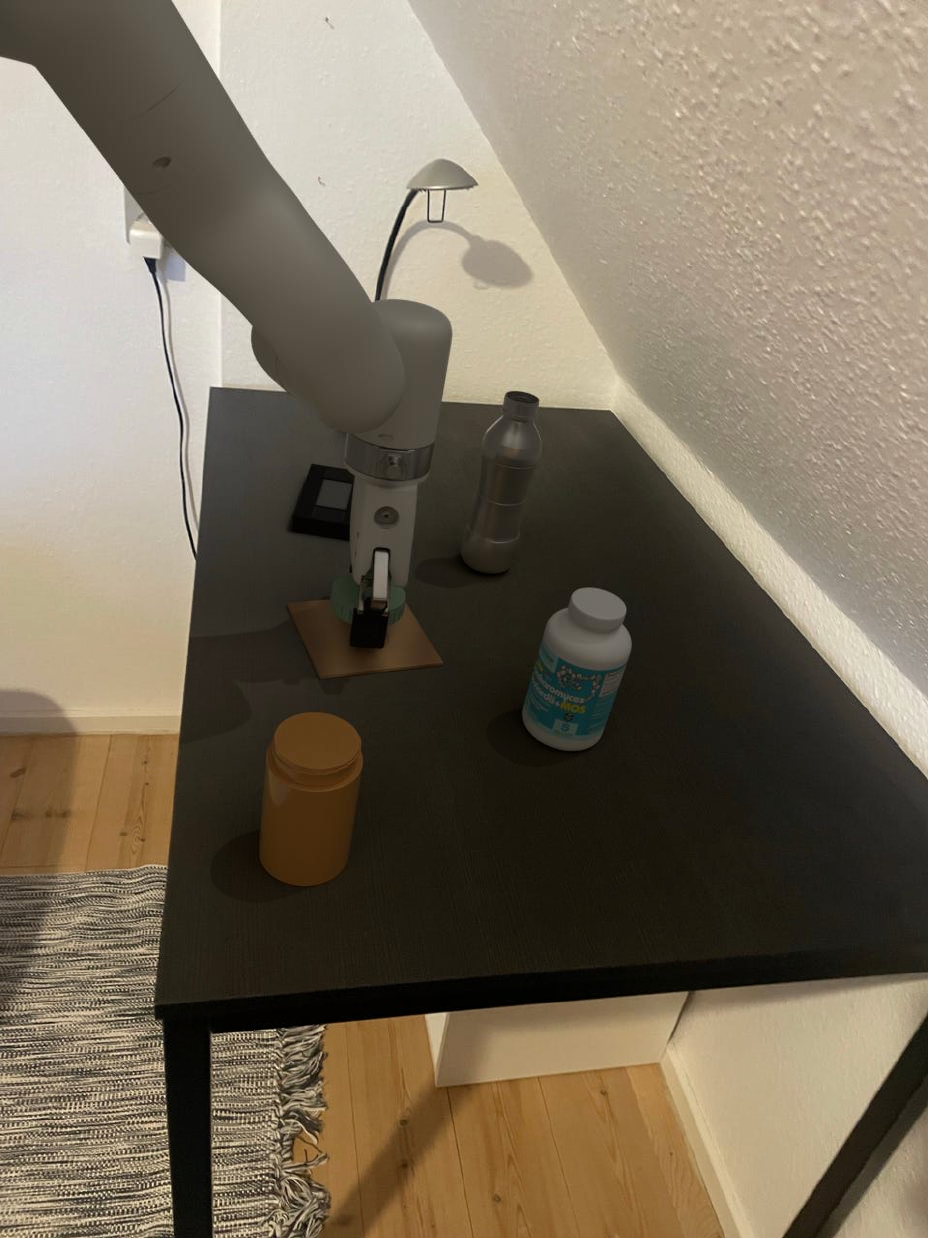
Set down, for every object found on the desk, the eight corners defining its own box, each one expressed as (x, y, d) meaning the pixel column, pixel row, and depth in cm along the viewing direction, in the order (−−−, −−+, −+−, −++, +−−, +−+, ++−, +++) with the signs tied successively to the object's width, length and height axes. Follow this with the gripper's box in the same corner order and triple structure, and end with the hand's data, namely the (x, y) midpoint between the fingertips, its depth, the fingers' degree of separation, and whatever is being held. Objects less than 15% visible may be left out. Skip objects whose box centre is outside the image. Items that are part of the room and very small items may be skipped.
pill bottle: (503, 721, 84) (536, 593, 77) (553, 691, 89) (588, 569, 82) (569, 767, 80) (610, 638, 73) (617, 733, 85) (659, 609, 78)
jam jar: (260, 889, 64) (270, 774, 58) (256, 820, 69) (264, 708, 64) (354, 883, 66) (372, 771, 60) (343, 817, 71) (359, 707, 65)
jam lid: (406, 595, 93) (409, 579, 92) (399, 634, 87) (403, 617, 86) (335, 582, 92) (337, 565, 91) (324, 620, 86) (326, 603, 85)
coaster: (319, 679, 84) (320, 675, 84) (286, 605, 93) (286, 602, 93) (442, 665, 89) (443, 662, 89) (400, 597, 98) (400, 593, 98)
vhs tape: (370, 487, 118) (371, 473, 117) (358, 542, 106) (360, 526, 105) (310, 478, 118) (311, 463, 117) (291, 531, 106) (292, 515, 105)
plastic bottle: (445, 561, 106) (477, 391, 95) (482, 545, 111) (517, 381, 100) (489, 587, 103) (527, 414, 92) (525, 569, 108) (566, 403, 97)
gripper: (443, 502, 75) (411, 680, 84) (421, 417, 89) (395, 578, 98) (348, 493, 73) (326, 676, 83) (341, 408, 87) (323, 573, 97)
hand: (364, 621), depth 90 cm, fingers closed on jam lid, 6 cm apart
